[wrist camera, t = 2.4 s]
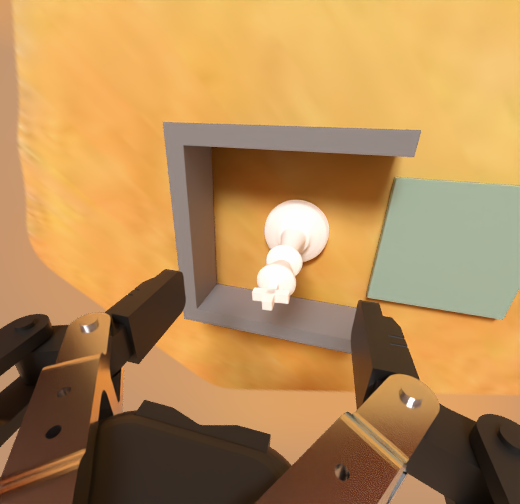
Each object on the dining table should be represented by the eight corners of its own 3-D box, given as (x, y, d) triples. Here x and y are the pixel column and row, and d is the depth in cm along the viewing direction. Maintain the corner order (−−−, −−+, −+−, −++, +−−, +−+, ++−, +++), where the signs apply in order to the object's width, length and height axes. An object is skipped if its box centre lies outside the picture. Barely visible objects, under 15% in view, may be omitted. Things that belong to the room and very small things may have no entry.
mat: (563, 188, 15) (571, 190, 15) (498, 314, 19) (502, 319, 18) (394, 176, 17) (396, 178, 16) (366, 293, 21) (367, 297, 20)
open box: (402, 131, 16) (421, 130, 12) (357, 320, 22) (361, 355, 18) (194, 124, 19) (162, 122, 15) (205, 292, 25) (184, 318, 21)
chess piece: (327, 261, 21) (322, 357, 12) (266, 258, 22) (220, 342, 13) (330, 199, 19) (327, 257, 10) (263, 199, 20) (207, 251, 11)
